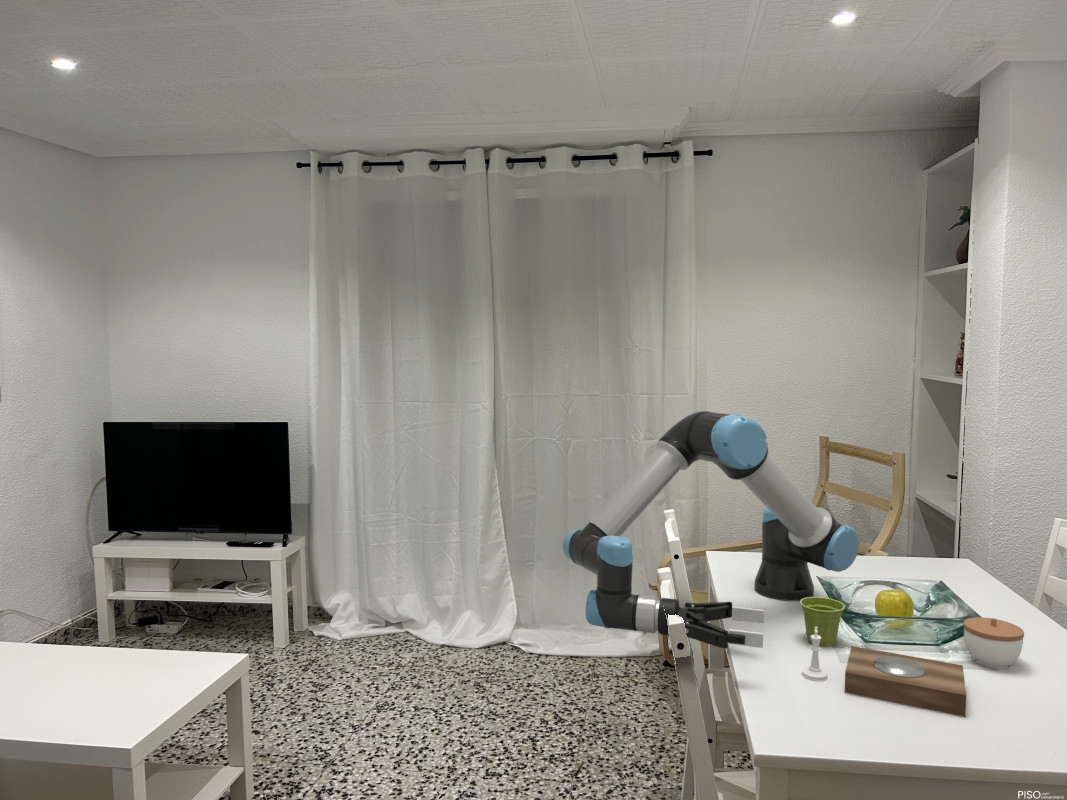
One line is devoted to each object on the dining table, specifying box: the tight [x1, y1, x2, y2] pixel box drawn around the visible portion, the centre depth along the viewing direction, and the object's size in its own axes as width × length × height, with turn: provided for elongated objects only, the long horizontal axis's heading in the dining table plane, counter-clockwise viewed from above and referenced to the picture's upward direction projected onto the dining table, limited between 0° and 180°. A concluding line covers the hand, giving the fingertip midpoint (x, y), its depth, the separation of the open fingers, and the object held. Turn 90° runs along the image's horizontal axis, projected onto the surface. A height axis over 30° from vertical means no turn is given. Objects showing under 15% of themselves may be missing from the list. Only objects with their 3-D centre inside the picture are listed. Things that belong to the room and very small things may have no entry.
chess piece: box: [801, 627, 829, 682], centre depth 149 cm, size 5×5×10 cm
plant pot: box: [799, 596, 846, 647], centre depth 166 cm, size 9×9×9 cm
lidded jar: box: [963, 616, 1025, 670], centre depth 155 cm, size 11×11×9 cm
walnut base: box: [844, 645, 967, 718], centre depth 143 cm, size 14×20×4 cm
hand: (763, 628), depth 151 cm, fingers open, 13 cm apart
